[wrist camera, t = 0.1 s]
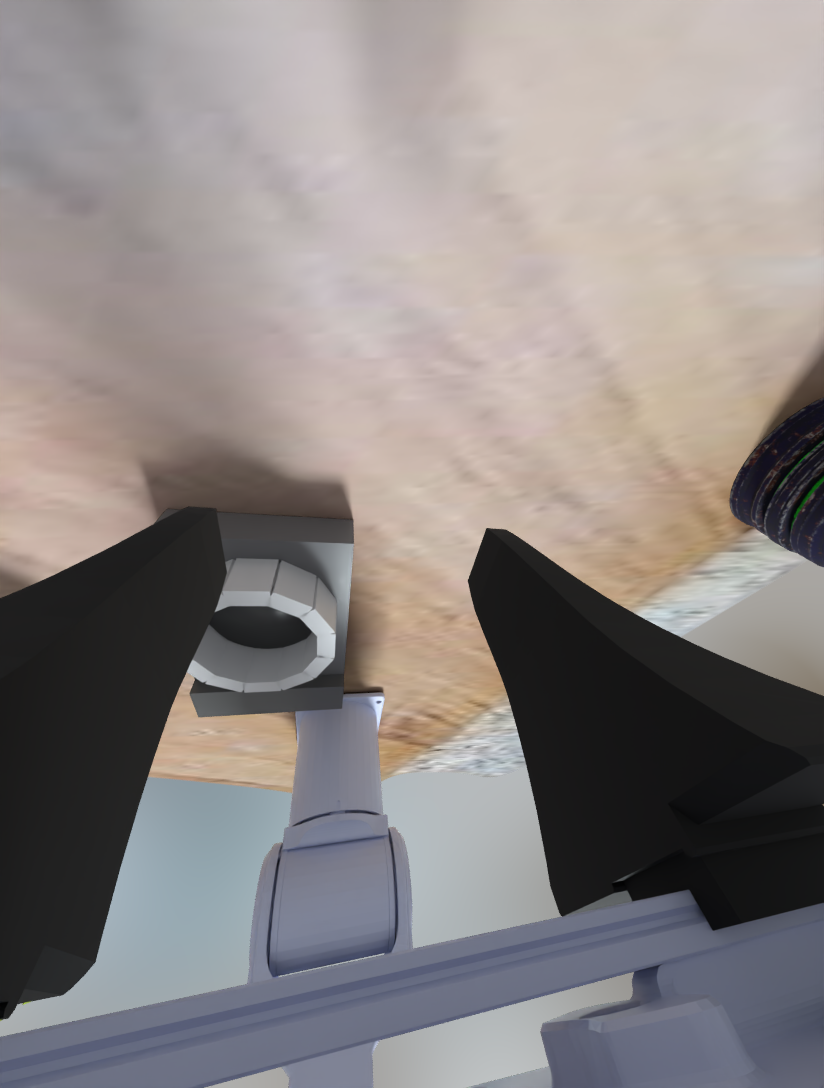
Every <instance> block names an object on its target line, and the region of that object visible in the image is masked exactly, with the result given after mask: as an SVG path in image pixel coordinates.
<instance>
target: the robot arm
mask: <svg viewBox="0 0 824 1088" xmlns="http://www.w3.org/2000/svg"><path fill="white" fill-rule="evenodd" d="M226 574H227V569H226V563H225V557H224V552H223V546H222V540H221V534H220V528H219V523H218V517H217V511H216V509H214V508H200V507H187V508H184V509H182V510H180V511H178V512H176V513H174V514H172V515H170V516H168V517H166V518H164V519H162V520H160V521H159V522H157V523H155V524H153V525H151V526H149V527H148V528H146V529H144V530H142V531H140V532H138V533H136V534H135V535H133V536H131V537H129V538H127V539H125V540H123V541H121V542H120V543H118V544H116V545H114V546H112V547H110V548H108V549H106V550H104V551H102V552H100V553H98V554H96V555H94V556H92V557H90V558H88V559H86V560H84V561H82V562H80V563H78V564H76V565H74V566H72V567H69V568H67V569H65V570H63V571H61V572H59V573H57V574H55V575H53V576H51V577H49V578H47V579H44V580H42V581H40V582H38V583H35V584H33V585H31V586H29V587H26V588H24V589H22V590H19V591H17V592H15V593H12V594H10V595H7V596H5V597H2V598H0V1020H3V1019H7V1018H9V1017H10V1015H11V1014H12V1013H13V1011H14V1010H15V1008H16V1006H17V1004H20V1003H25V1002H30V1001H36V1000H41V999H45V998H50V997H55V996H61V995H64V994H65V993H66V992H67V991H68V990H70V989H71V988H72V987H73V986H74V985H75V984H76V983H77V982H78V981H79V980H80V979H81V978H82V977H83V976H84V975H85V974H86V973H87V971H88V970H89V969H90V968H91V967H92V965H93V964H94V963H95V962H96V958H97V954H98V950H99V946H100V942H101V938H102V934H103V930H104V926H105V923H106V919H107V915H108V912H109V908H110V904H111V901H112V896H113V893H114V889H115V886H116V882H117V878H118V874H119V871H120V867H121V864H122V860H123V857H124V853H125V850H126V846H127V843H128V840H129V836H130V833H131V830H132V826H133V823H134V820H135V816H136V812H137V809H138V806H139V802H140V799H141V796H142V793H143V790H144V787H145V784H146V781H147V778H148V775H149V772H150V768H151V765H152V762H153V759H154V756H155V753H156V750H157V747H158V744H159V741H160V738H161V735H162V732H163V730H164V727H165V724H166V721H167V718H168V715H169V712H170V709H171V707H172V704H173V702H174V699H175V697H176V695H177V692H178V690H179V687H180V685H181V683H182V681H183V679H184V677H185V675H186V672H187V670H188V668H189V666H190V664H191V662H192V660H193V658H194V655H195V653H196V651H197V649H198V647H199V645H200V643H201V640H202V638H203V636H204V634H205V632H206V630H207V627H208V625H209V623H210V621H211V619H212V617H213V614H214V612H215V610H216V608H217V605H218V602H219V599H220V595H221V592H222V589H223V585H224V582H225V578H226ZM468 584H469V588H470V593H471V597H472V601H473V605H474V609H475V612H476V615H477V617H478V620H479V622H480V625H481V628H482V630H483V633H484V635H485V638H486V640H487V643H488V645H489V648H490V650H491V653H492V655H493V657H494V660H495V662H496V665H497V667H498V670H499V672H500V675H501V677H502V680H503V683H504V686H505V689H506V692H507V695H508V698H509V702H510V705H511V709H512V712H513V716H514V719H515V723H516V726H517V730H518V734H519V738H520V742H521V746H522V749H523V753H524V757H525V761H526V765H527V770H528V773H529V778H530V782H531V787H532V792H533V796H534V801H535V805H536V810H537V815H538V820H539V825H540V830H541V835H542V841H543V846H544V851H545V857H546V862H547V868H548V874H549V880H550V886H551V889H552V892H553V895H554V898H555V901H556V904H557V907H558V910H559V913H560V914H561V916H562V917H558V918H554V919H549V920H544V921H540V922H535V923H530V924H526V925H521V926H516V927H512V928H507V929H502V930H498V931H493V932H488V933H484V934H479V935H474V936H470V937H465V938H460V939H456V940H451V941H446V942H442V943H437V944H433V945H428V946H423V947H419V948H414V949H413V946H412V893H411V880H410V870H409V862H408V855H407V850H406V845H405V841H404V839H403V837H402V835H401V834H400V833H399V832H398V830H397V829H396V828H395V827H390V828H388V818H387V815H383V806H382V791H381V775H380V760H379V744H378V728H379V723H380V719H381V714H382V709H383V704H384V699H385V697H384V694H383V693H380V692H378V693H359V694H343V704H342V709H330V710H313V711H296V712H295V715H296V729H297V743H298V749H297V758H296V767H295V775H294V784H293V793H292V801H291V811H290V819H289V827H287V828H285V830H284V839H283V843H276V844H274V845H273V847H272V849H271V850H270V851H269V853H268V854H267V855H266V857H265V858H264V861H263V864H262V868H261V872H260V877H259V882H258V887H257V893H256V899H255V906H254V913H253V920H252V930H251V939H250V955H249V962H250V963H249V964H250V967H249V975H248V983H247V984H245V985H241V986H236V987H231V988H227V989H222V990H218V991H213V992H208V993H203V994H199V995H194V996H189V997H185V998H180V999H176V1000H171V1001H166V1002H161V1003H157V1004H152V1005H148V1006H143V1007H138V1008H133V1009H129V1010H124V1011H119V1012H115V1013H110V1014H106V1015H101V1016H96V1017H92V1018H87V1019H83V1020H78V1021H72V1022H68V1023H64V1024H59V1025H54V1026H49V1027H44V1028H40V1029H35V1030H31V1031H26V1032H21V1033H16V1034H12V1035H7V1036H3V1037H0V1088H204V1087H208V1086H212V1085H215V1084H219V1083H223V1082H227V1081H230V1080H233V1079H238V1078H241V1077H245V1076H248V1075H252V1074H256V1073H259V1072H264V1071H267V1070H271V1069H275V1068H278V1067H282V1069H283V1070H284V1071H285V1073H286V1074H287V1076H288V1077H289V1088H373V1060H372V1054H373V1052H374V1049H375V1047H376V1046H377V1044H378V1042H379V1040H382V1039H386V1038H390V1037H393V1036H397V1035H401V1034H405V1033H408V1032H412V1031H416V1030H419V1029H423V1028H427V1027H431V1026H434V1025H438V1024H441V1023H445V1022H449V1021H453V1020H456V1019H460V1018H464V1017H467V1016H471V1015H475V1014H479V1013H482V1012H486V1011H490V1010H494V1009H497V1008H501V1007H504V1006H508V1005H512V1004H516V1003H519V1002H523V1001H527V1000H531V999H534V998H538V997H541V996H545V995H549V994H553V993H556V992H560V991H564V990H568V989H571V988H575V987H579V986H583V985H586V984H590V983H594V982H597V981H601V980H605V979H609V978H612V977H616V976H620V975H623V974H627V973H631V972H634V971H635V972H634V975H633V979H632V986H633V996H632V997H631V999H630V1000H626V1001H619V1002H613V1003H606V1004H600V1005H595V1006H591V1007H587V1008H583V1009H579V1010H576V1011H572V1012H570V1013H567V1014H565V1015H562V1016H560V1017H557V1018H555V1019H552V1020H550V1021H547V1022H545V1023H543V1024H542V1028H541V1036H542V1040H543V1044H544V1048H545V1052H546V1055H547V1059H548V1063H549V1066H548V1067H545V1068H541V1069H537V1070H533V1071H529V1072H525V1073H521V1074H517V1075H513V1076H510V1077H506V1078H502V1079H498V1080H494V1081H490V1082H487V1083H482V1084H479V1085H475V1086H471V1087H467V1088H824V806H823V805H822V804H824V696H822V695H819V694H816V693H814V692H811V691H808V690H806V689H803V688H800V687H797V686H795V685H792V684H789V683H787V682H784V681H781V680H778V679H775V678H773V677H770V676H768V675H765V674H763V673H760V672H758V671H756V670H753V669H751V668H748V667H746V666H744V665H741V664H739V663H736V662H734V661H732V660H729V659H727V658H724V657H722V656H720V655H717V654H715V653H713V652H711V651H709V650H706V649H704V648H702V647H700V646H697V645H695V644H693V643H691V642H689V641H687V640H685V639H683V638H681V637H679V636H677V635H675V634H673V633H671V632H669V631H666V630H664V629H662V628H660V627H659V626H657V625H655V624H653V623H651V622H649V621H647V620H645V619H643V618H642V617H640V616H638V615H636V614H634V613H633V612H631V611H629V610H627V609H626V608H624V607H622V606H620V605H618V604H617V603H615V602H613V601H612V600H610V599H608V598H607V597H605V596H603V595H602V594H600V593H599V592H597V591H596V590H594V589H593V588H591V587H590V586H588V585H586V584H585V583H583V582H582V581H580V580H579V579H577V578H576V577H574V576H573V575H571V574H570V573H569V572H567V571H566V570H564V569H563V568H561V567H560V566H559V565H557V564H556V563H554V562H553V561H551V560H550V559H549V558H547V557H546V556H544V555H543V554H542V553H540V552H539V551H537V550H536V549H535V548H533V547H532V546H530V545H529V544H528V543H526V542H525V541H523V540H522V539H520V538H519V537H517V536H516V535H514V534H513V533H511V532H509V531H507V530H504V529H490V528H486V531H485V534H484V537H483V540H482V542H481V545H480V548H479V551H478V554H477V557H476V559H475V562H474V565H473V568H472V571H471V573H470V576H469V579H468ZM382 953H385V954H384V955H381V956H376V957H372V958H367V959H362V960H358V961H353V962H348V963H343V964H339V965H334V966H329V967H325V968H321V969H316V970H311V971H307V972H302V973H297V974H292V975H288V976H283V977H278V976H280V975H285V974H289V973H294V972H299V971H303V970H308V969H312V968H317V967H322V966H326V965H331V964H336V963H340V962H345V961H350V960H354V959H359V958H364V957H368V956H373V955H378V954H382Z"/></svg>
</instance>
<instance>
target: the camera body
mask: <svg viewBox="0 0 824 1088" xmlns="http://www.w3.org/2000/svg"><path fill="white" fill-rule="evenodd" d="M178 511H180V510H173V509H166V511H165V512H164V513H163V514H162V515H161V516H160V518H159V519H158V520H157V521H156V522H155V523H157V522H159V521H160V520H162V519H164V518H166V517H168V516H170V515H172V514H174V513H176V512H178ZM217 517H218V523H219V528H220V534H221V540H222V546H223V552H224V557H225V563H226V569H227V574H226V578H225V582H224V585H223V589H222V592H221V595H220V599H219V602H218V605H217V608H216V610H215V612H214V614H213V617H212V619H211V621H210V623H209V625H208V627H207V630H206V632H205V634H204V636H203V638H202V640H201V643H200V645H199V647H198V649H197V651H196V653H195V655H194V658H193V660H192V662H191V664H190V666H189V668H188V670H187V673H189V674H190V675H192V676H193V677H194V678H195V681H194V684H193V686H192V689H191V691H190V696H191V699H192V701H193V704H194V707H195V709H196V712H197V715H198V717H212V716H229V715H245V714H262V713H279V712H296V711H313V710H330V709H342V704H343V691H344V668H345V654H346V641H347V627H348V614H349V601H350V587H351V574H352V560H353V547H354V530H353V520H348V519H330V518H313V517H295V516H278V515H260V514H243V513H225V512H217ZM155 523H154V524H155Z"/></svg>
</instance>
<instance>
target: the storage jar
mask: <svg viewBox="0 0 824 1088" xmlns="http://www.w3.org/2000/svg"><path fill="white" fill-rule="evenodd" d="M730 508H731V511H732V513H733V514H734V516H735V517H736V518H737V519H739V520H740V521H742V522H744V523H746V524H747V525H750V526H753V527H756V529H757V530H758V531H760V532H761V533H763V534H765V535H766V536H768V538H769V539H771V540H772V541H773V542H775V543H777V544H779V545H780V546H782V547H784V548H786V549H787V550H789V551H792V552H795V553H798V554H799V555H801V556H803V557H805V558H806V559H808V560H810V561H812V562H813V563H815V564H817V565H819V566H822V567H824V398H822V399H820V400H817V401H815V402H813V403H812V404H810V405H808V406H806V407H805V408H803V409H801V410H800V411H798V412H797V413H795V414H794V415H793V416H791V417H790V418H788V419H787V420H786V421H785V422H783V423H782V424H781V425H780V426H778V427H777V428H776V429H775V430H774V431H773V432H772V433H771V434H769V435H768V436H767V437H766V438H765V439H764V440H763V441H762V442H761V444H760V445H759V446H758V447H757V448H756V449H755V450H754V451H753V453H752V454H751V455H750V457H749V458H748V459H747V460H746V462H745V463H744V465H743V467H742V468H741V470H740V471H739V473H738V475H737V477H736V479H735V481H734V484H733V487H732V490H731V494H730Z"/></svg>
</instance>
